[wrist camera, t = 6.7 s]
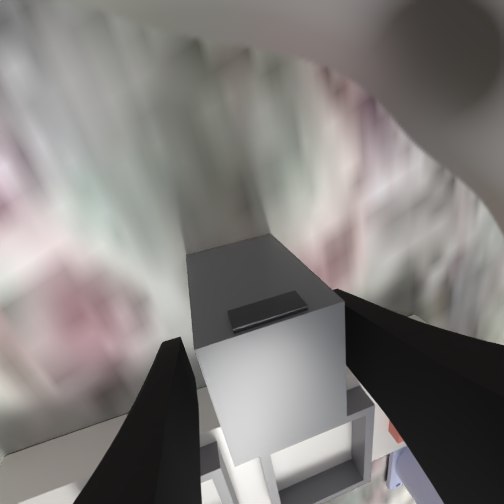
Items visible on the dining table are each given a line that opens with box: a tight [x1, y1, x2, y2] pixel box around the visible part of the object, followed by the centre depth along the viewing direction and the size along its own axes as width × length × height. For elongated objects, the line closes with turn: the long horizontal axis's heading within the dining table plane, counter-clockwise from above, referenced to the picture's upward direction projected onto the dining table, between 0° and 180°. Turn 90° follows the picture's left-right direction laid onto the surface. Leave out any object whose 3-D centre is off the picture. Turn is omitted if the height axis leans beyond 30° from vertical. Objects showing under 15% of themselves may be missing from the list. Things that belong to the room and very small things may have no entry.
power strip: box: [0, 314, 428, 504], centre depth 15 cm, size 24×9×4 cm, turn 99°
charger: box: [186, 234, 347, 467], centre depth 10 cm, size 4×5×6 cm
